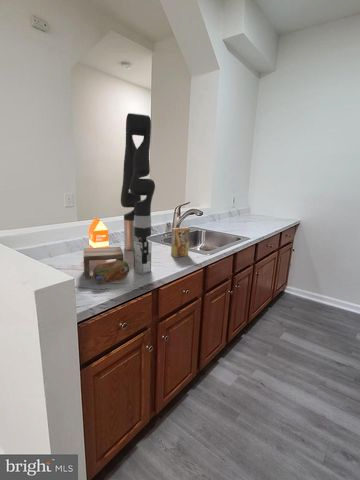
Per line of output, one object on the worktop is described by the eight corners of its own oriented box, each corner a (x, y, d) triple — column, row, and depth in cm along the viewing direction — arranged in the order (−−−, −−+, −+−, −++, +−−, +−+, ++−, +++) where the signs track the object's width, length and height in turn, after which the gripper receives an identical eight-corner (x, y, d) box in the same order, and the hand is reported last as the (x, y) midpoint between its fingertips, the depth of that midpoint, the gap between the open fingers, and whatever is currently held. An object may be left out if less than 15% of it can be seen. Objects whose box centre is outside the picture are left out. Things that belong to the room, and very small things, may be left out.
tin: (94, 285, 109) (93, 265, 107) (92, 283, 111) (91, 263, 109) (129, 278, 117) (129, 259, 115) (126, 275, 120) (126, 257, 118)
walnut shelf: (85, 269, 125) (83, 248, 123) (120, 266, 130) (120, 246, 128) (84, 279, 114) (83, 256, 112) (123, 276, 119) (123, 254, 117)
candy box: (184, 253, 154) (185, 226, 151) (188, 255, 151) (189, 228, 147) (170, 255, 150) (171, 228, 146) (174, 257, 146) (175, 229, 143)
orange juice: (94, 259, 140) (92, 220, 135) (89, 254, 147) (87, 217, 142) (109, 256, 144) (108, 219, 139) (103, 252, 151) (102, 216, 146)
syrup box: (142, 268, 130) (142, 238, 126) (151, 271, 126) (151, 240, 122) (133, 271, 125) (133, 240, 122) (142, 274, 122) (142, 243, 118)
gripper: (131, 222, 126) (132, 256, 130) (136, 228, 113) (137, 266, 117) (147, 222, 128) (147, 255, 132) (154, 228, 115) (154, 265, 119)
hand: (142, 260), depth 124 cm, fingers closed on syrup box, 7 cm apart
